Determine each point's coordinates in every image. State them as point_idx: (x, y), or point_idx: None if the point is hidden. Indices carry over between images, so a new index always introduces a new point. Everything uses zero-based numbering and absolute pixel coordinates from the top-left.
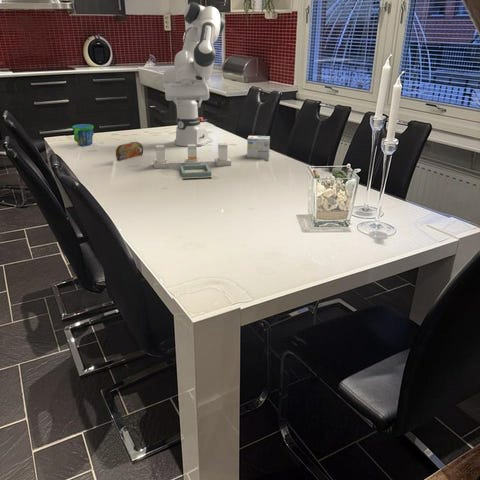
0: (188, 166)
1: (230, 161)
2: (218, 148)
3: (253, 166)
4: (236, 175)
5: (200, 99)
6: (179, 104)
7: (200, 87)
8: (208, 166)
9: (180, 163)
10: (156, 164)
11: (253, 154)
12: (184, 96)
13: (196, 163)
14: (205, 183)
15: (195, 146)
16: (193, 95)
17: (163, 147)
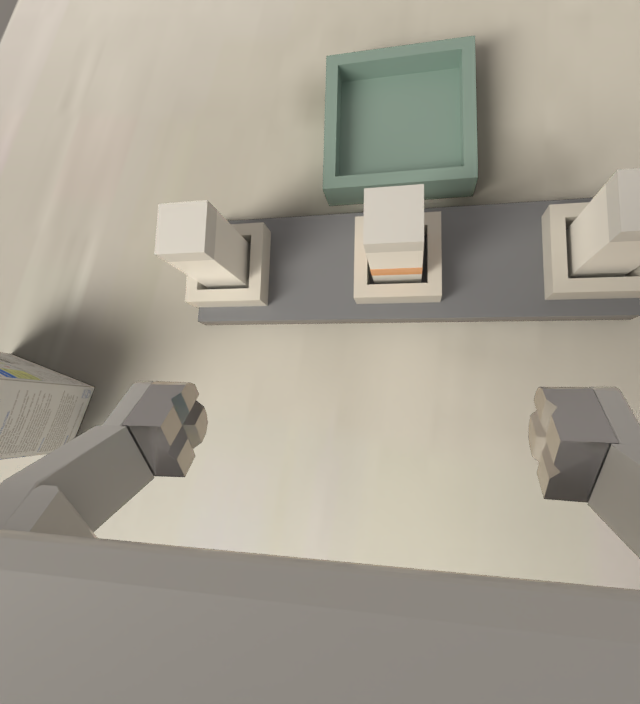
0: (429, 170)
1: None
2: (219, 254)
3: (103, 264)
4: (213, 129)
5: (54, 466)
6: (553, 400)
7: None
8: (316, 222)
9: (465, 300)
10: None
11: (45, 373)
12: (425, 572)
13: None
14: (369, 20)
15: (370, 189)
16: (137, 545)
17: (624, 170)
